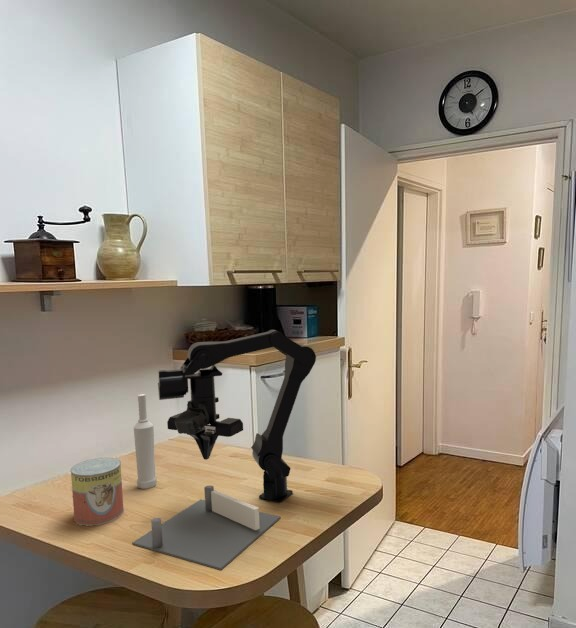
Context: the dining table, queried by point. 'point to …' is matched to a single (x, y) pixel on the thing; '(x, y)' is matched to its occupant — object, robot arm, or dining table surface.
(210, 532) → the plate with peg
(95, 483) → the canned food
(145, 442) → the bottle
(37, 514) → the dining table surface
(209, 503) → the gate
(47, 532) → the dining table surface
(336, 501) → the dining table surface
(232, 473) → the dining table surface
